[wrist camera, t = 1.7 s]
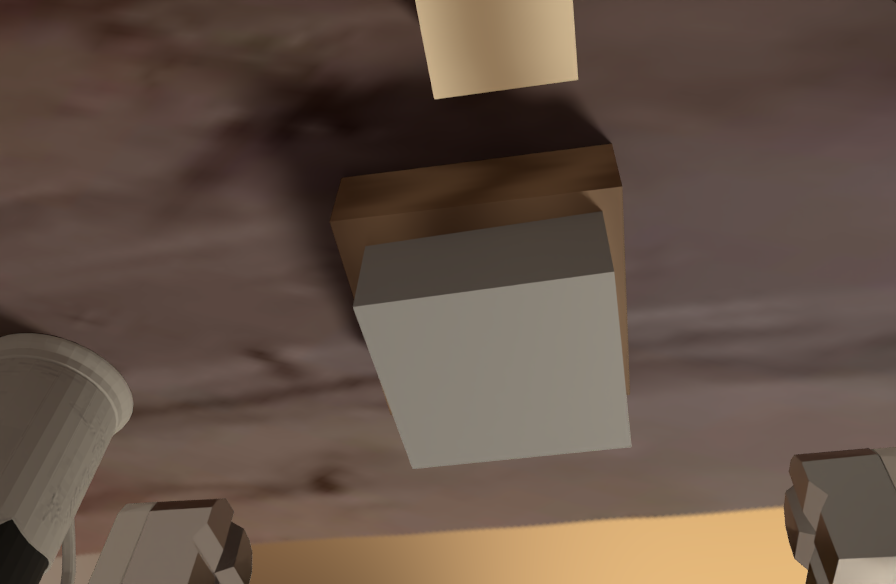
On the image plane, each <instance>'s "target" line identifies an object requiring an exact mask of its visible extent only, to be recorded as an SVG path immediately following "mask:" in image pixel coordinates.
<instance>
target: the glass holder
mask: <svg viewBox="0 0 896 584" xmlns="http://www.w3.org/2000/svg"><path fill="white" fill-rule="evenodd" d="M132 411H133V399H132V394H131V391H130V389H129V387H128V385H127V383H126V382H125V380H124V379H123V377H122V376H121V375H120V373H119V372H118V371H117V370H116V369H115V368H114V367H113V366H112V365H111V364H109V363H108V362H107V361H106V360H105V359H103V358H102V357H100V356H99V355H97V354H96V353H94V352H92V351H91V350H89V349H87V348H85V347H83V346H81V345H79V344H76V343H74V342H71V341H68V340H65V339H62V338H58V337H54V336H50V335H44V334H36V333H18V334H11V335H6V336H3V337H0V584H39V582H40V580H41V578H42V576H43V575H44V574H45V573H46V572H47V571H48V570H49V569H50V568H51V566H52V563H53V561H54V559H55V557H56V555H57V553H58V551H59V549H60V546H61V544H62V577H61V584H74V581H75V574H76V548H75V523H74V517H75V515H76V512H77V510H78V508H79V506H80V504H81V502H82V500H83V498H84V495H85V493H86V491H87V489H88V487H89V485H90V483H91V481H92V478H93V476H94V474H95V472H96V470H97V468H98V466H99V463H100V461H101V459H102V457H103V455H104V453H105V451H106V449H107V446H108V444H109V442H110V440H111V438H112V436H113V435H114V434H115V433H117V432H118V431H119V430H120V429H122V428H123V427H124V426H125V424H126V423H127V422H128V420H129V419H130V416H131V414H132Z"/></svg>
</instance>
